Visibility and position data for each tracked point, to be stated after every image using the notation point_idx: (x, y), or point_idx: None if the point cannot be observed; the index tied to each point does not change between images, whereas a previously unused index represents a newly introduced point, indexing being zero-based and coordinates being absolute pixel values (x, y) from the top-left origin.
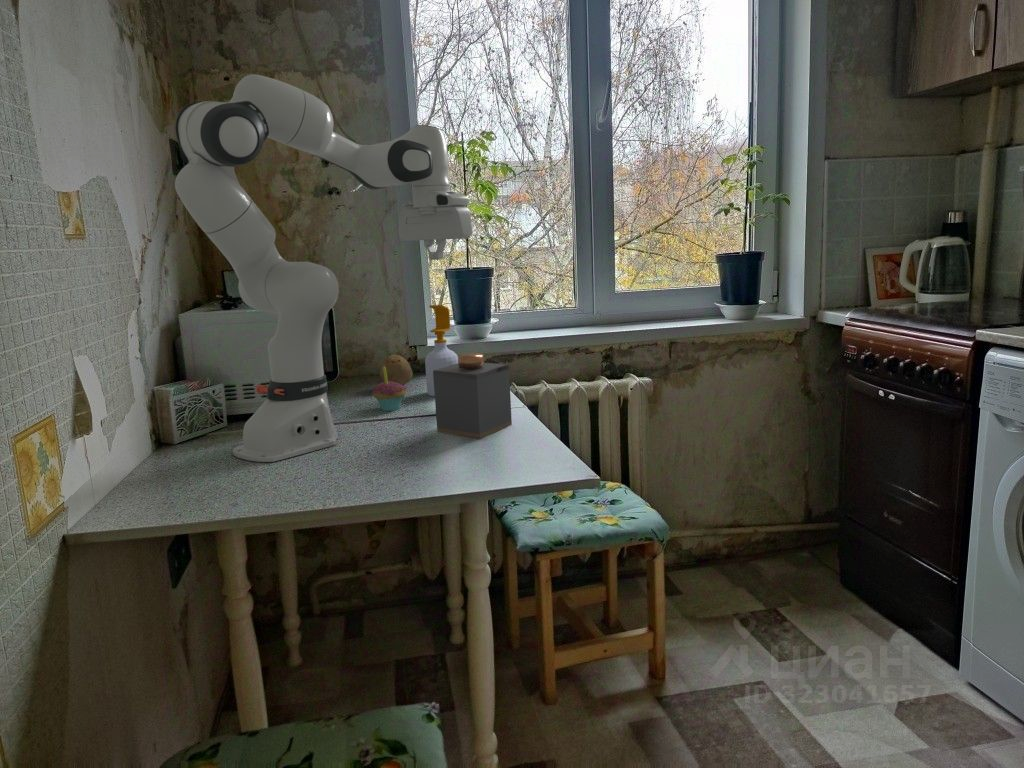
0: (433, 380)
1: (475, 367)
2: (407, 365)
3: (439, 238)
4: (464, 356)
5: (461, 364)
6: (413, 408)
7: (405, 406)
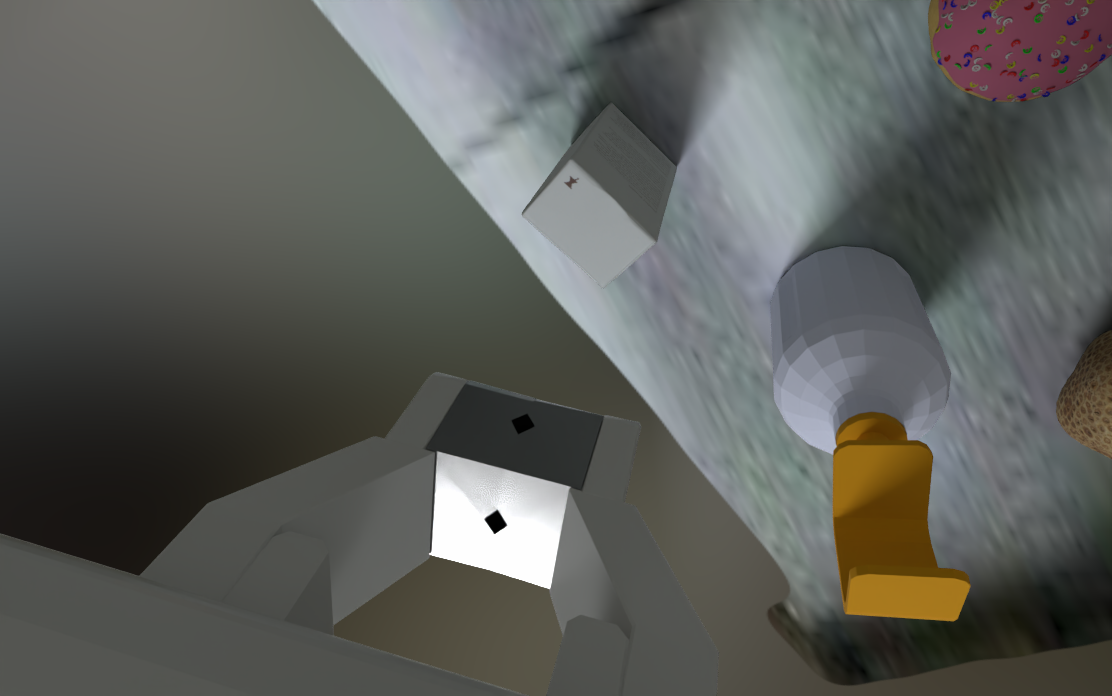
0: (867, 275)
1: None
2: (1087, 413)
3: (25, 555)
4: None
5: None
6: (877, 37)
7: None
